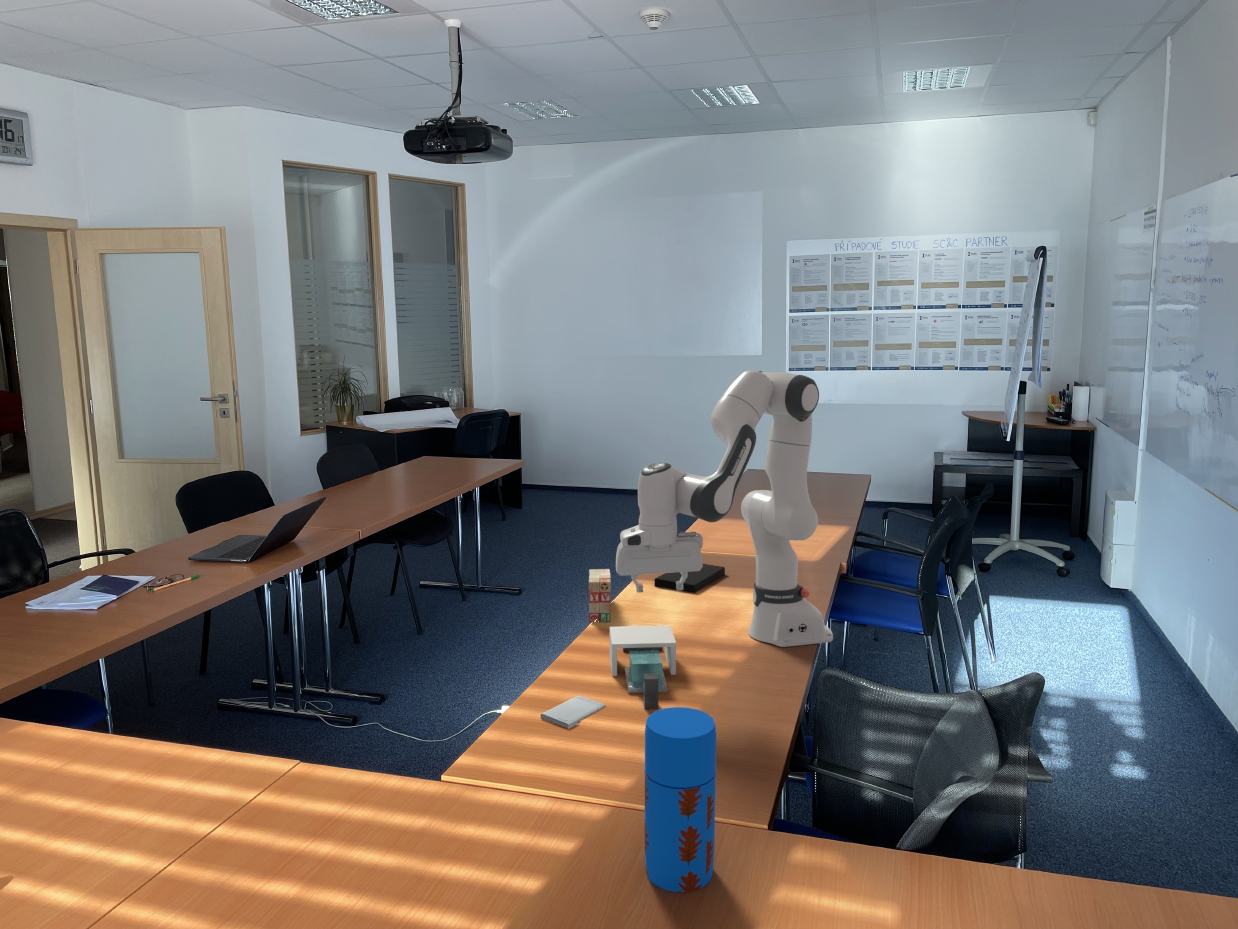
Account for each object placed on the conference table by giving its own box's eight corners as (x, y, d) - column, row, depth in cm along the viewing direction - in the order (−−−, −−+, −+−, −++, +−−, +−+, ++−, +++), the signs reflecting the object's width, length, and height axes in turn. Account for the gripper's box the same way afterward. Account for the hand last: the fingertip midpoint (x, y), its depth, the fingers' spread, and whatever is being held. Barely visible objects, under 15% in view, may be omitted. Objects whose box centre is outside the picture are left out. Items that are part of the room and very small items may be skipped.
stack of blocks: (589, 599, 271) (589, 560, 269) (609, 598, 271) (609, 560, 269) (588, 623, 250) (588, 581, 248) (611, 623, 250) (610, 581, 248)
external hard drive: (654, 587, 283) (654, 578, 283) (686, 569, 303) (686, 561, 302) (694, 594, 276) (694, 585, 276) (724, 575, 296) (725, 567, 295)
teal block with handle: (661, 671, 215) (661, 644, 213) (671, 708, 194) (671, 678, 193) (624, 672, 214) (624, 644, 213) (630, 709, 194) (630, 679, 193)
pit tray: (660, 645, 233) (660, 639, 232) (662, 652, 228) (662, 646, 227) (622, 646, 232) (622, 640, 232) (623, 653, 227) (623, 647, 227)
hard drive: (568, 724, 186) (605, 704, 196) (540, 713, 191) (578, 694, 201) (568, 731, 186) (605, 711, 196) (540, 720, 191) (578, 700, 201)
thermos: (641, 852, 144) (641, 707, 139) (706, 848, 144) (708, 705, 140) (649, 895, 133) (649, 740, 129) (719, 891, 134) (722, 737, 130)
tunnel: (670, 657, 225) (670, 625, 223) (675, 676, 213) (676, 642, 212) (609, 658, 224) (609, 626, 222) (612, 678, 212) (611, 644, 211)
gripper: (700, 527, 208) (701, 583, 211) (613, 532, 207) (616, 588, 209) (704, 534, 202) (706, 592, 205) (615, 539, 201) (618, 597, 203)
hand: (659, 590), depth 207 cm, fingers open, 8 cm apart
